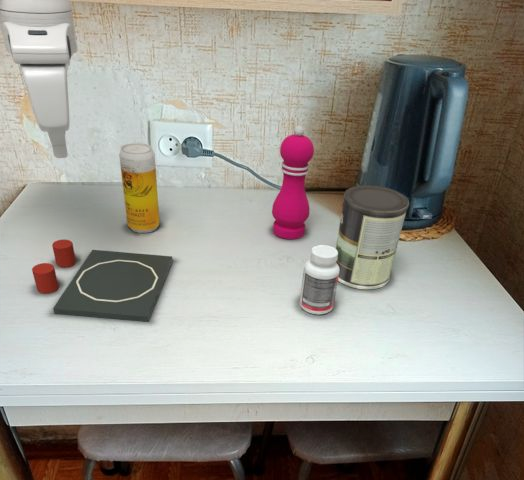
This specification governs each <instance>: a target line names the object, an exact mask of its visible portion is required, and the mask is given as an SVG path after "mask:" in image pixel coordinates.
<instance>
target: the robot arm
mask: <svg viewBox="0 0 524 480" xmlns="http://www.w3.org/2000/svg"><path fill="white" fill-rule="evenodd" d="M0 29H1V34H2V37H3V42H4V46H5V50H6V51H7V52H8V53H10V55H11V57H12V60H13V62H14V64H16V65H19V68H20V71H21V75H22V78H23V79H22V80H23V83H24V86H25V89H26V93H27V96H28V99H29V102H30V104H31V108H32V112H33V115H34V118H35V120H36V123H37V125H38V127H39V130H40V131H41V132H44V133H47V134H48V137H49V138H48V139H49V140H50V144H51V148H52V152H53V156H54V157H55V158H56V159H65V158H67V157H68V156H69V155H68V147H67V140H66V132H68V131H69V129H70V104H69V103H70V101H69V89H68V88H69V86H68V85H69V84H68V70H69V67H70V65H71V59H72V57H73V55H74V54H76V53H77V52H78V50H79V49H78V43H77V36H76V30H75V29H76V28H75V23H74V17H73V9H72V4H71V2H70V0H0Z"/></svg>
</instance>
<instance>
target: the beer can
mask: <svg viewBox="0 0 524 480" xmlns="http://www.w3.org/2000/svg"><path fill="white" fill-rule="evenodd" d="M155 155H156V154H155V152H154V150H153V147H152V145H150V144H148V143H143V142H131V143H125V144H122V145H121V147H120V151H119V153H118V157H119V166H120V173H121V174H120V175H121V181H122V191H123V198H124V206H125V208H124V209H125V217H126V225H127V226H128V227H129V228H130V230H131V231H132V232H135V233H138V234H148V233H152V232H154V231H156V230H157V229H158V227H159V225H160V223H161V222H160V210H159V209H160V208H159V195H158V183H157V182H158V181H157V180H158V179H157V170H156V169H157V167H156V156H155Z"/></svg>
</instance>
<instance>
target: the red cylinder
mask: <svg viewBox="0 0 524 480" xmlns="http://www.w3.org/2000/svg"><path fill="white" fill-rule="evenodd" d="M51 246H52V251H53V256H54V259H55V265H56V267H59V268H71V267H73V266H74V265H76V263H77V259H76V254H75V248H74V243H73V241H71V240H70V239H64V238H63V239H58V240H55V241H53V242H52V244H51Z"/></svg>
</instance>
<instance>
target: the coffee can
mask: <svg viewBox="0 0 524 480" xmlns="http://www.w3.org/2000/svg"><path fill="white" fill-rule="evenodd" d="M409 206H410V201H409V198H408V197H407V196H406V195H404V194H403V193H401V192H400V191H398V190H395V189H393V188H389V187H385V186H381V185H372V184H369V185H366V184H363V185H355V186H352V187H349V188H347V189H346V190H345V191H344V193H343V202H342V206H341V207H342V209H341V214H340V220H339V226H338V232H337V239H336V244H335V249H336V250H337V251H338V259H337V261H336V263H337V264H338V266H339V269H340V271H339V277H338V282H339V283H341V284H342V285H344V286H345V287H346V286H347V287H349V288H353V289H356V290H365V291H366V290H370V291H371V290H376V289H380V288H383V287H385V286H386V285H387V284H388V283H389V282H390V278H391V277H390V276H391V272H392V269H393V265H394V262H395V261H394V260H395V257H396V253H397V249H398V245H399V242H400V237H401V234H402V230H403V226H404V222H405V218H406V214H407V211H408V209H409Z"/></svg>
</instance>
